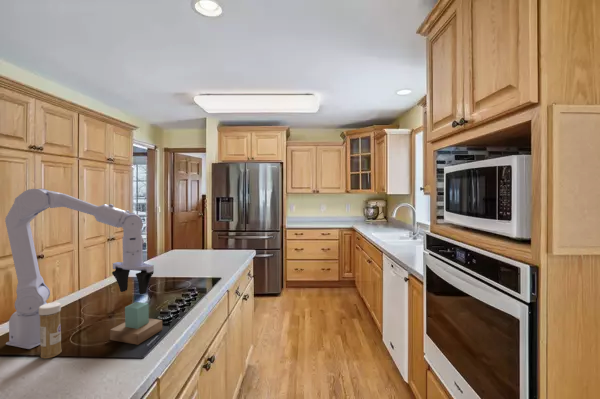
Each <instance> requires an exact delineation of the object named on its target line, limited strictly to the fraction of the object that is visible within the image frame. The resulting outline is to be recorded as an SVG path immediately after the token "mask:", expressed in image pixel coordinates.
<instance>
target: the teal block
mask: <svg viewBox="0 0 600 399" xmlns="http://www.w3.org/2000/svg"><path fill="white" fill-rule="evenodd" d="M149 309H150V308H149V303H147V302H139V301H136V302H133V303H131V304H128V305H126V306H125V307H124V322H125V327H129V328H136V329H138V328H140V327H142V326H144V325H145V324H147V323H149V317H150V315H149V314H150V311H149Z"/></svg>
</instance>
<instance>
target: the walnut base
mask: <svg viewBox="0 0 600 399" xmlns="http://www.w3.org/2000/svg"><path fill="white" fill-rule="evenodd" d="M162 331H163V319H155V318H149V323H147V324H145V325H144V326H142V327H140V328H138V329H136V328H129V327H125V321H124V322H122V323H120V324H118V325H117V326H115V327H112V328H111V329H109V340H110V341H115V342H121V343H126V344H130V345H131V344H132V345H138V346H139V345H140V344H142V343H143V342H145V341H146V340H148V339H150V338H151V337H153V336H154V335H156V334H158V333H159V332H162Z"/></svg>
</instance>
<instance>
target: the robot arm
mask: <svg viewBox="0 0 600 399" xmlns="http://www.w3.org/2000/svg"><path fill="white" fill-rule="evenodd" d="M49 208H50V209H55V208H56V209H57V208H67V209H70V210H74V211H77V212H80V213H84V214H87V215H90V216H93V217H94V218H95V220H96V222H99V223H101V224H105V225H108V226H110V227H115V228H118V229H119V228H122V229H123V232H122V234H123V236H122V239H121V240H122V261H121V262H120V261H117V262H113V263H112V269H113V271H112V272H111V274H112V275H113V277H114V279H115V280H116V282H117V285H118V287H119V288H118V289H119V290H120V292H121V293H123V292H126V291H128V286H129V277H130V276H129V275H130V271H139V272H136V273H135V277H136V279H137V283H138V292H139V294H140V295H144V294H146V293H147V290H148V286H149V283H150V280H151V278H152V277H153V274H155V273H154V265H153V264H150V263H149V264H148V263H145V261H143V260H144V258H143V256H144V253H143V235H142V234H143V230H142V229H143V227H144V223H143V219H142V218H141V216H139V214H136V213H135V212H131V211H130V210H128V209H126V210H123V209H121V208H118V207H115V205H114V204H112V203H109V204H106V203H104V204H101V205H96V204H94V203H91V202H89V201H86V200H83V199H79V198H77V197H74V196H71V195H69V194H67V193H64V192H63V193H62V192H58V191H55V190H54V191H53V190H48V189H45V188H29V189H26V190H25V191H24V190H23V191H22V193H20V194H19V195H17V196H16V197H15V198H14V200H13V204H12V205H11V207H10V209H9V210H8V213H7V214H6V216H5V218H4V219H5V221H4V222H5V226H6V227H5V228H6V230H7V236H8V237H7V238H8V241H9V245H10V250H11V255H12V260H13V265H14V270H15V274H16V279H17V285H16V290H15V292H16V299H15V302H14V309H15V311H14V312H13V313H12V314H11V315H10V317H9V320H8V337H9V338H8V339H9V341H7V342H6V343H5V345H7V346H12V347H16V348H22V349H27V350H31V349H33V348H35V347H37V346H41V345H40V315H39V307H40V306H42V305H44V304H48V303H47V300H49V298H50V296H51V290H50V288H49V287H48V285H46V283H45V280H44V278H43V276H42V275H41V271H40V268H39V261H38V257H37V252H36V247H35V246H36V245H35V242H34V238H33V233H32V227H31V222H32V221H33V220H34V219H35V218H36V217H37V216H38V215H39V214H40V213H41V212H44V211H45V210H47V209H49Z"/></svg>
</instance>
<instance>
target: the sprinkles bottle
mask: <svg viewBox="0 0 600 399" xmlns="http://www.w3.org/2000/svg"><path fill="white" fill-rule="evenodd" d="M61 307H62V304H61V303H60V302H48V303H47V304H44V305H42V306H40V307H39V315H40V345H39V346H40V358H41V359H51V358H54V357H57V356H58V355H60V354H61V353H62V331H61V329H62V328H61V326H62V325H61V311H62V308H61Z"/></svg>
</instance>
